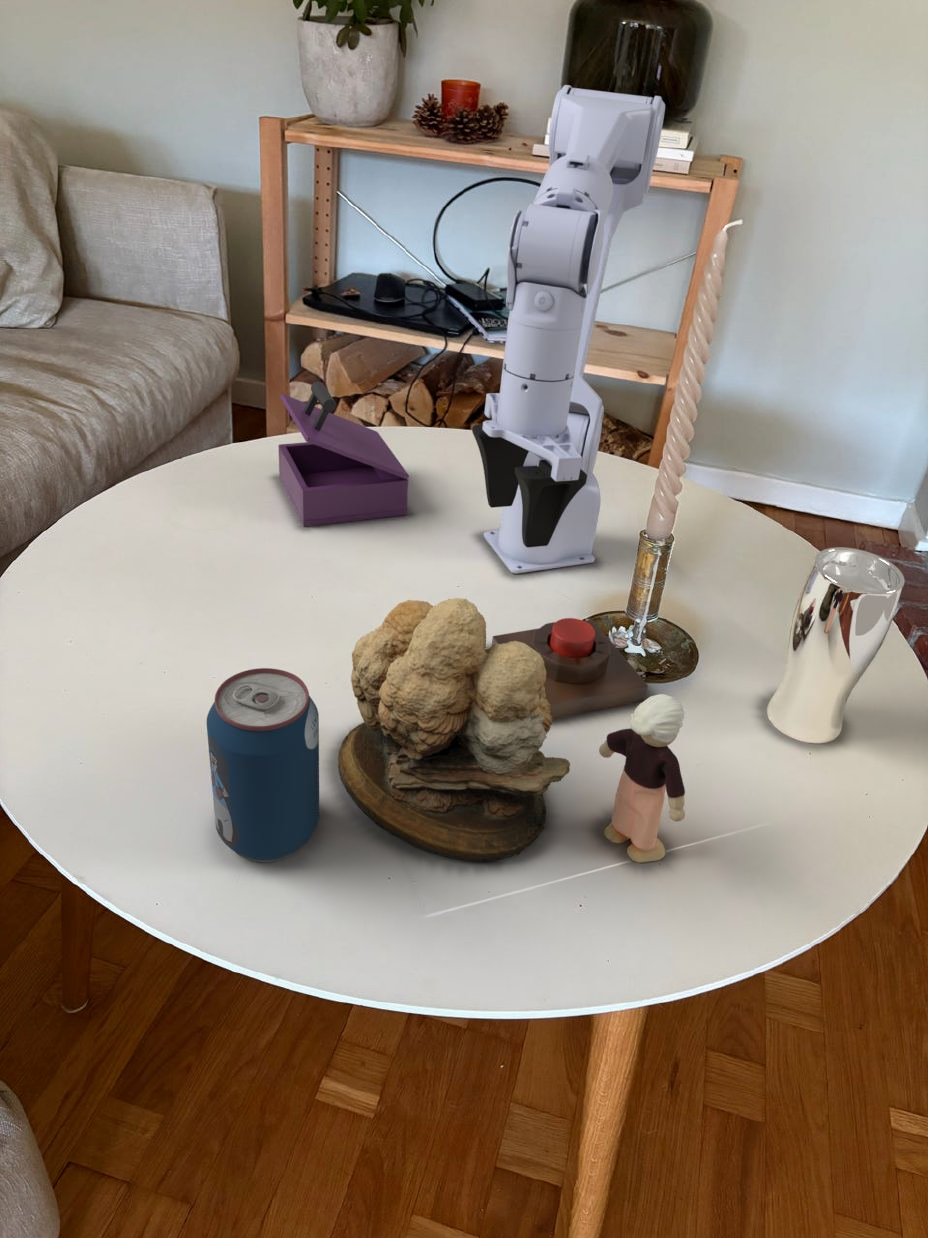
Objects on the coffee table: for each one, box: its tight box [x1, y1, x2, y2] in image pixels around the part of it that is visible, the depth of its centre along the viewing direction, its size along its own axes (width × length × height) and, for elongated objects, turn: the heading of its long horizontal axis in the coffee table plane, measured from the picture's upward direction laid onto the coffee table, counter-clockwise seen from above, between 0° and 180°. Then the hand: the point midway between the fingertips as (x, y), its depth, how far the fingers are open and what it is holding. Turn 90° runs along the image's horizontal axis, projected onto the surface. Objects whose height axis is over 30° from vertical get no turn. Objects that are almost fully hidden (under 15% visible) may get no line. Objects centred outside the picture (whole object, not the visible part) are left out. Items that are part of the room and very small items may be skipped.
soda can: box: [206, 667, 320, 863], centre depth 62 cm, size 7×7×12 cm
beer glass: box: [766, 546, 905, 744], centre depth 76 cm, size 7×7×15 cm
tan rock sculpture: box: [337, 597, 571, 862], centre depth 66 cm, size 18×12×17 cm, turn 56°
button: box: [550, 617, 595, 659], centre depth 81 cm, size 4×4×2 cm
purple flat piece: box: [279, 380, 410, 480], centre depth 102 cm, size 12×11×4 cm
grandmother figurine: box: [598, 693, 686, 864], centre depth 65 cm, size 8×4×13 cm, turn 48°
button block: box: [491, 619, 649, 720], centre depth 82 cm, size 10×10×4 cm
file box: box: [277, 441, 409, 527], centre depth 105 cm, size 11×11×4 cm
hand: (517, 524), depth 83 cm, fingers open, 7 cm apart
